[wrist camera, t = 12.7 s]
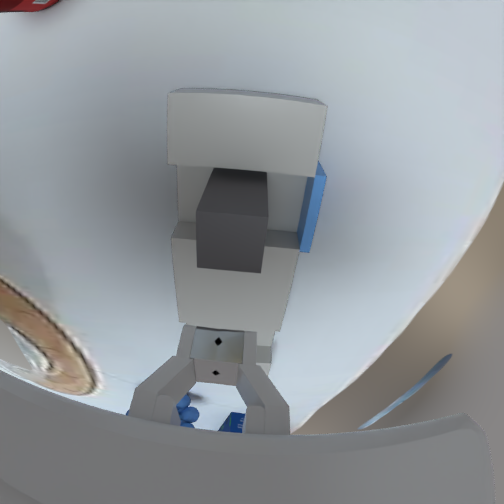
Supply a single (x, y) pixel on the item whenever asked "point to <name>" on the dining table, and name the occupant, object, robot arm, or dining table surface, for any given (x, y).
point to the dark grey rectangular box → (232, 221)
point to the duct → (279, 200)
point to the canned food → (24, 5)
